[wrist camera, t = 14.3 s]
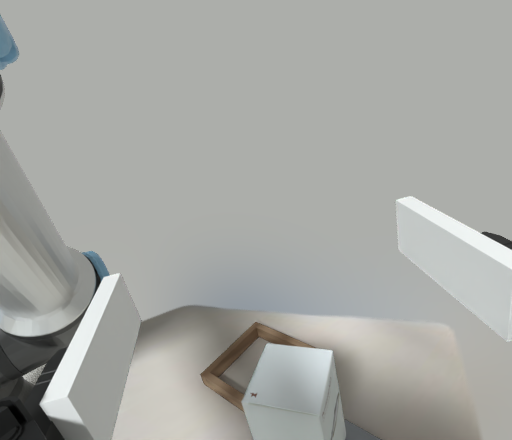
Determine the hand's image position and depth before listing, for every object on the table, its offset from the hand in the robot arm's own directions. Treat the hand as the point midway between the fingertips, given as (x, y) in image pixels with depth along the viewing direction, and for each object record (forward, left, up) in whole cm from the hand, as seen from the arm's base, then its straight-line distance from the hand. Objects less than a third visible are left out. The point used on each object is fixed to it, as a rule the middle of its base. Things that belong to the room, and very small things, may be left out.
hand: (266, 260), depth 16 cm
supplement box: (-7, +6, -31) cm, 32 cm away
